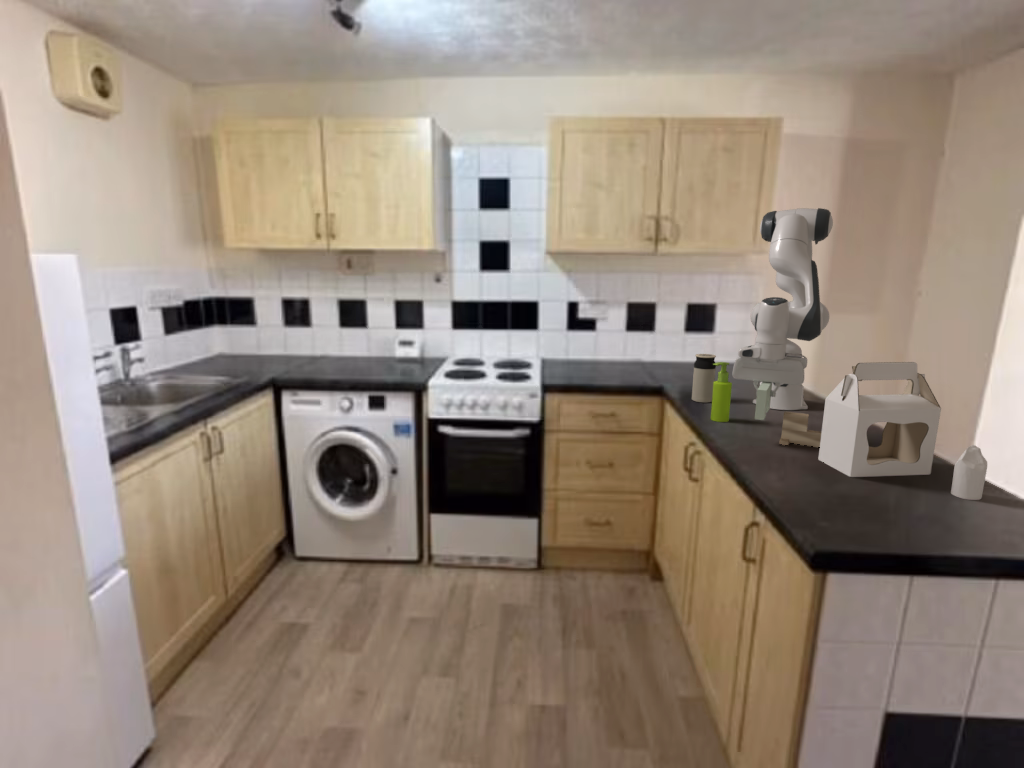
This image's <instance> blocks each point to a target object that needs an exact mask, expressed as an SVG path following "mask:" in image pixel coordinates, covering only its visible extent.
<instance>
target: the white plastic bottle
mask: <svg viewBox="0 0 1024 768" xmlns="http://www.w3.org/2000/svg"><path fill="white" fill-rule="evenodd" d="M987 469H988V461H987V459H986V458H985V456H984V455H983V454H982V449H981V448H980V447H979V446H976V445H975V444H972V445H969V446H967V448H966V449H965V450H964V451H963V452H962V454H961V455H960V456H959V457H958V460H957V461H956V462H955V464H954V469H953V474H952V475H953V477H952V484H951V488H950V489H951V490H950V494H951V495H952V496H954V497H957V498H960V499H962V500H967V501H968V500H970V501H980V500H981V499H982V498H983V493H984V492H983V491H984V487H985V480H986V477H987V476H986V475H987V472H988V471H987Z"/></svg>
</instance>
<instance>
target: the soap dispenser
mask: <svg viewBox="0 0 1024 768" xmlns="http://www.w3.org/2000/svg"><path fill="white" fill-rule="evenodd" d="M713 365H715V366H716V367H719V366H721V367H720V371H718V372H717V380H715V381H714V382H713V395H712V402H711V411H710V420H711V421H712V422H716V423H717V422H718V423H727V422H730V421H729V420H730V411H731V399H732V398H731V397H732V387H733V383H732V382H730V381H729V375H730V373H729V372H728V371H727V369H728V368H727V367H728V366H730V362H724V361H717V362H715V363H714V364H713Z"/></svg>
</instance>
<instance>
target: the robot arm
mask: <svg viewBox="0 0 1024 768" xmlns="http://www.w3.org/2000/svg"><path fill="white" fill-rule="evenodd" d="M833 219H834V218H833V216H832V213H831V212H830V210H829V209H827V208H821V207H820V208H819V207H818V208H807V207H806V208H803V207H802V208H800V207H799V208H793V209H791V208H790V209H784V210H772V211H769V212H767V213H765V214H764V215H763V217H762V220H761V221H760V225H759V233H760V235H761V239H763V241H765V242H767V243H770V244H769V250H768V251H769V253H768V262H769V264H770V266H771V268H772V269H774V271H776V272H775V274H776V275H775V284H776V286H777V288H778V289H780V290H781V291H783V292H786V293H788V294H790V295H791V297H792V301H789V300H788V299H786V298H783V297H778V296H777V297H775V296H773V297H766V298H764V299H762V300H760V302H758V303H756V304H755V305H754V306H753V308H752V309H751V311H750V312H751V313H750V321H751V324H752V326H753V327H754V330H755V331H756V337H755V340H754V344H753V345H748V346H744V347H741V348H740V349H739V350H738V353H737V354H738V357H737V358H736V359H735V361H734V363H733V368H732V373H731V375H732V377H733V379H735V380H742V381H753V382H752V384H753V386H754V388H755V390H756V392H755V396H757V389H758V388H759V386H760V385H761V383H762V382H772V390H771V391H770V397H771V400H770V409H772V410H781V411H798V410H808V408H809V407H808V405H807V403H806V402H805V400H804V398H805V395H804V389H805V388H804V386H803V384H804V383H805V369H806V368H807V365H808V357H806V356H805V355H803V352H802V348H801V347H800V346H799V345H798V344H797V343H795V342H793V341H791V340H792V339H793V340H799V341H806V342H810V341H813V340H815V339H816V338H818V337H819V336H820V335H821V334H822V331H823V330H824V329H825V328H826V327H827V326H828V324H829V322H830V321H829V320H830V312H829V309H828V307H827V306H826V305H825V304H823V303H822V302H821V298H820V297H821V295H820V283H819V281H820V280H819V272H818V266H817V263H816V261H815V260H813V242H814V243H815V245H818V244H819V243H820V242H822V241H824V240H826V238H827V237H829V234H830V233H831V231H832V228H833V227H834V226H833V225H834V220H833ZM789 339H790V340H789ZM756 399H757V398H755V399H752V403H753V404H755V405H756Z"/></svg>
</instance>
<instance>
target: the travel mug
mask: <svg viewBox="0 0 1024 768" xmlns="http://www.w3.org/2000/svg"><path fill="white" fill-rule="evenodd" d="M694 357H696V358H695V359H696V360H695V361H694V363H693V375H692V376H693V377H692V389H691V390H692V391H691V400H692V401H694V402H695V403H705V404H706V403H712V395H713V382H714V381H716V379H715V378H716V369H717V366H715V365H713V364H714V363H716V361H715V358H716V357H717V356H716V354H713V353H712V354H711V353H696V354H695V356H694Z"/></svg>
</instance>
